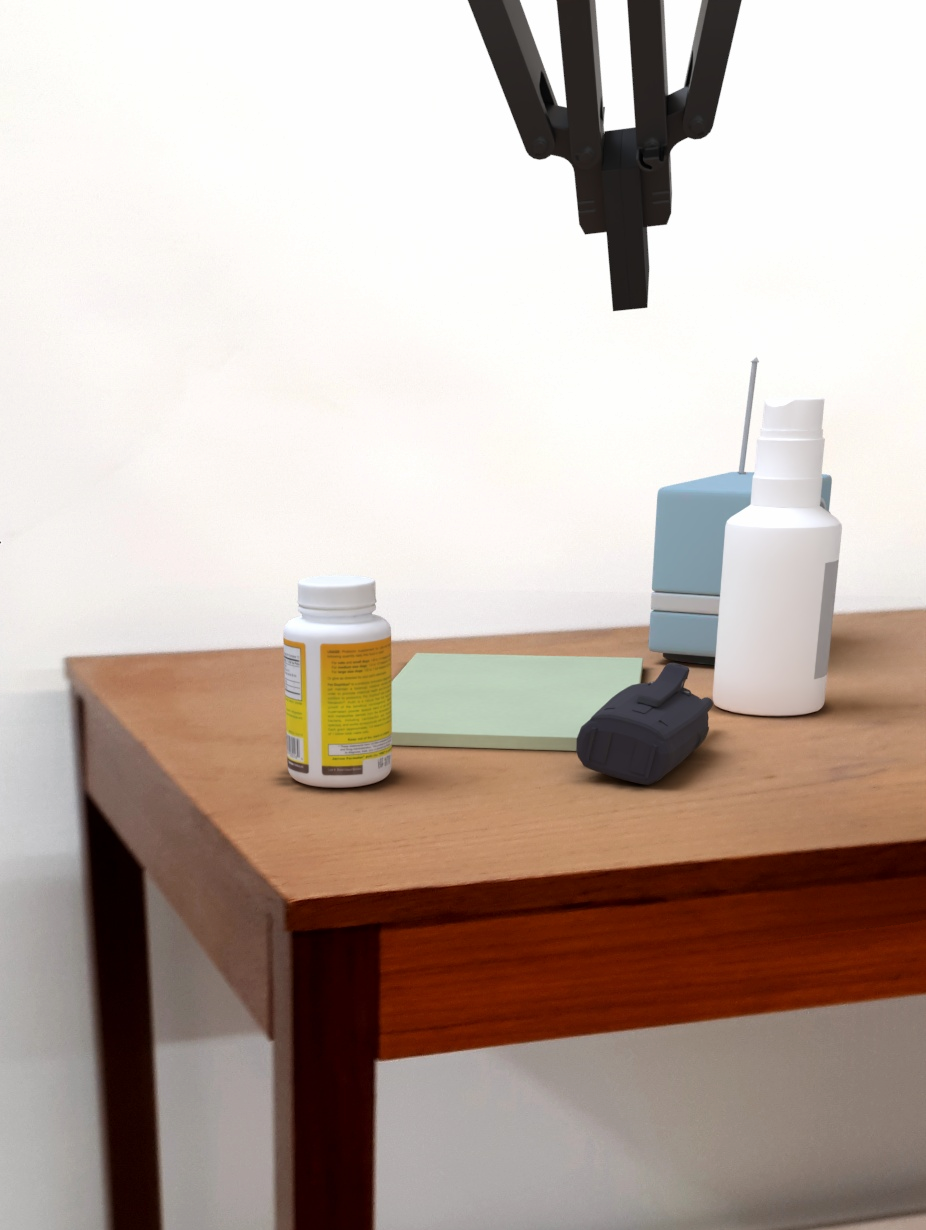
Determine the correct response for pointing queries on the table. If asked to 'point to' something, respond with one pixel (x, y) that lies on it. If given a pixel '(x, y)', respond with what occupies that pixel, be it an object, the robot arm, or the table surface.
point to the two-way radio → (645, 729)
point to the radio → (697, 555)
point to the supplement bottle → (338, 684)
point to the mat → (503, 699)
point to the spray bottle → (779, 574)
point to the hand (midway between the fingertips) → (631, 289)
